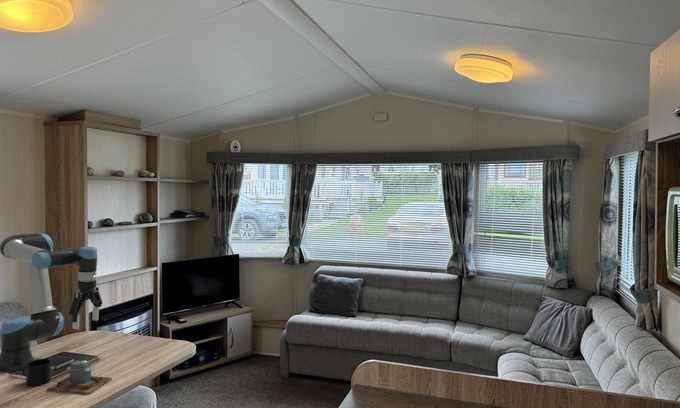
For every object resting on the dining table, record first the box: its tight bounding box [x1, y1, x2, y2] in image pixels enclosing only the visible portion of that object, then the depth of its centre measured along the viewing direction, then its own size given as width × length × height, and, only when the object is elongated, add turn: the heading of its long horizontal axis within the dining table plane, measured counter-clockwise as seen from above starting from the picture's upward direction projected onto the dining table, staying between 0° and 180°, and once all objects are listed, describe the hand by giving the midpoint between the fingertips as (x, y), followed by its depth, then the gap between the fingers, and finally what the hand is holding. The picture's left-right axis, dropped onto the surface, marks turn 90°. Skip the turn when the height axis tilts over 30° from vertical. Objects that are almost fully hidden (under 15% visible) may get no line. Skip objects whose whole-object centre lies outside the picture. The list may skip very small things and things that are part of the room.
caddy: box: [46, 374, 112, 395], centre depth 213 cm, size 20×16×2 cm
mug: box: [21, 358, 52, 387], centre depth 215 cm, size 9×12×9 cm
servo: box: [66, 360, 95, 384], centre depth 213 cm, size 10×4×10 cm, turn 84°
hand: (85, 324), depth 224 cm, fingers open, 13 cm apart
